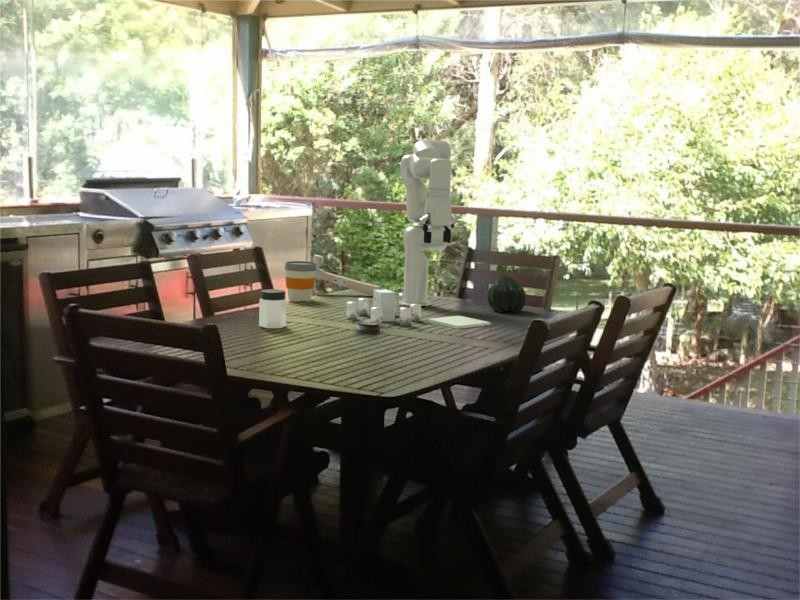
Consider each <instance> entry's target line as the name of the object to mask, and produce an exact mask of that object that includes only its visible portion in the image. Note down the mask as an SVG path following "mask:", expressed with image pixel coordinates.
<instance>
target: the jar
mask: <svg viewBox="0 0 800 600" xmlns="http://www.w3.org/2000/svg"><path fill="white" fill-rule="evenodd" d="M258 306H259V309H258V313H259V314H258V326H259V327H260V328H264V329H281V328H285V327H286V326H287V298H286V291H285V290H283V289H276V288H275V289H273V288H269V289H267V288H266V289H262V290H260V297H259V305H258Z"/></svg>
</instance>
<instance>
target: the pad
mask: <svg viewBox="0 0 800 600" xmlns="http://www.w3.org/2000/svg"><path fill="white" fill-rule="evenodd" d="M427 321H428V322H427ZM426 322H427V323H432V324H436V325H441V326H445V327H449V328H453V329H457V330H460V329H467V328H468V329H469V328H476V327H486V326H485V325H487V326H491V321H486V320H482V319H478V318H472V317H467V316H463V315H453V316H452V315H451V316H443V317H442V316H441V317H433V318H431V317H430V318H427V319H426Z"/></svg>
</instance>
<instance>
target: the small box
mask: <svg viewBox="0 0 800 600" xmlns="http://www.w3.org/2000/svg"><path fill="white" fill-rule="evenodd" d="M372 297H373V298H372V307H381V308H382V323H383V322H384V323H385V322H395V317H396V316H395V299H396V292H395V291H393V290H389V289H379V290H373V296H372Z"/></svg>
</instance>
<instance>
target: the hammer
mask: <svg viewBox="0 0 800 600" xmlns="http://www.w3.org/2000/svg"><path fill="white" fill-rule="evenodd" d="M312 257H313V258H312V262H314V263H316V271H315V277H316V278H315V282H316V281H317V280H319V281H320V280H322V281H325V282H329V283H332V284H336V285H338V286H341V287H344V288H346V289H350V290H352V291H355V292H359V293H363V294H366V295H369V296H372V297H373V290H380V285H376V284H372V283H371V284H370V283H367V282H364V281H359V280H356V279H353V278H349V277H345V276H342V275H338V274H334V273H331V272H328V271H324V269H322V268H320V266H321V265H322V264H323V262H324V260H325V258H324V256H322V255H319V254H314V255H313V256H312ZM316 287H317V286H316V283H315V284H314V288H313V291H312V293H314V294H315V295H317V294H318V293H319V291H318V290H317V288H316Z"/></svg>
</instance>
